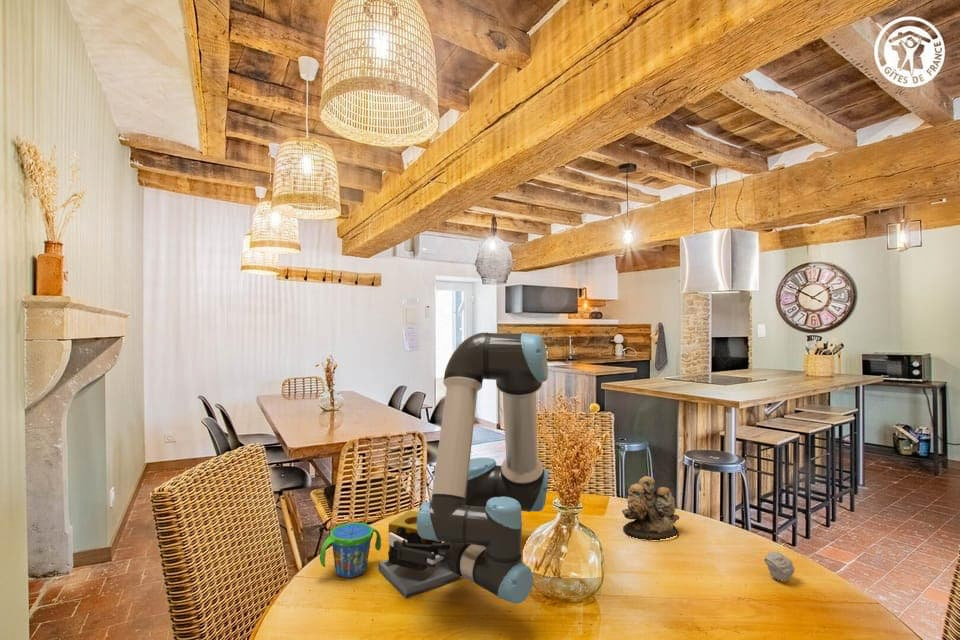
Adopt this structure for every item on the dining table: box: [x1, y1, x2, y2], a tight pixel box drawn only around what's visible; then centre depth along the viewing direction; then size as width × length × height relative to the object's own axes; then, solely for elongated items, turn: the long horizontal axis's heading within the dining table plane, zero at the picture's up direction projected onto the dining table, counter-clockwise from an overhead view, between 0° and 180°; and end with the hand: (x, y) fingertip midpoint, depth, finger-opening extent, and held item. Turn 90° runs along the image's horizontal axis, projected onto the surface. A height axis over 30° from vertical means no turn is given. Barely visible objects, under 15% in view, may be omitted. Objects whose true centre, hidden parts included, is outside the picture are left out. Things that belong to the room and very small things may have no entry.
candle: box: [387, 510, 443, 571], centre depth 120 cm, size 10×10×10 cm
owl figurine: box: [621, 475, 680, 541], centre depth 146 cm, size 18×12×17 cm, turn 101°
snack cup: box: [319, 522, 382, 579], centre depth 120 cm, size 16×10×10 cm
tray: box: [377, 559, 462, 599], centre depth 119 cm, size 15×15×2 cm
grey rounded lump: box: [764, 550, 795, 581], centre depth 119 cm, size 6×7×7 cm
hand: (410, 530), depth 122 cm, fingers closed on candle, 12 cm apart
